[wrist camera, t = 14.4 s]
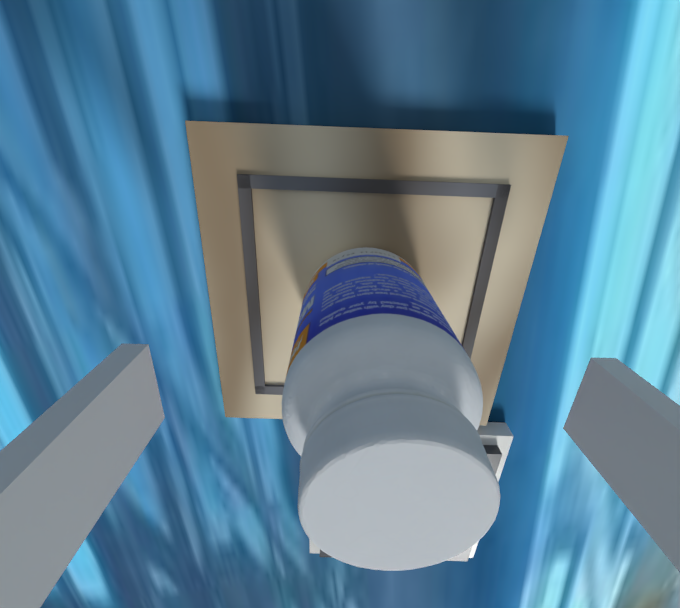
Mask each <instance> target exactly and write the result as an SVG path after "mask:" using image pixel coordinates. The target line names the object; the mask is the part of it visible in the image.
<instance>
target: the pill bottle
mask: <svg viewBox="0 0 680 608" xmlns="http://www.w3.org/2000/svg"><path fill="white" fill-rule="evenodd" d="M482 411H483V394H482V388H481V383H480V380H479V377H478V374H477V372H476V370H475V367H474V366H473V364H472V362H471V360H470V358H469V357H468V355H467V353H466V351H465V350H464V348H463V346H462V345H461V343H460V341H459V340H458V338H457V337H456V335H455V333H454V332H453V330H452V328H451V327H450V325H449V323H448V322H447V320H446V319H445V317H444V315H443V314H442V312H441V310H440V309H439V307H438V306H437V304H436V302H435V301H434V299H433V297H432V296H431V294H430V292H429V290H428V289H427V287H426V285H425V284H424V282H423V280H422V279H421V277H420V276H419V274H418V273H417V272H416V270H415V269H414V268H413V267H412V266H411V265H410V264H409V263H408V262H406V261H405V260H404V259H402V258H401V257H399V256H398V255H396V254H394V253H391V252H389V251H386V250H382V249H377V248H369V247H363V248H354V249H350V250H346V251H343V252H341V253H338V254H336V255H334V256H333V257H331V258H330V259H328V260H327V261H325V262H324V263H323V264H322V265H321V266H320V267H319V268H318V269H317V271H316V272H315V273H314V275H313V276H312V278H311V280H310V282H309V284H308V286H307V289H306V292H305V295H304V298H303V303H302V307H301V312H300V316H299V321H298V325H297V330H296V334H295V339H294V343H293V347H292V352H291V357H290V361H289V366H288V370H287V374H286V378H285V384H284V390H283V395H282V418H283V423H284V427H285V430H286V433H287V435H288V438H289V440H290V442H291V444H292V445H293V447H294V448H295V450H296V451H297V452H298V454H299V455H300V456H301V460H300V480H299V493H298V512H299V518H300V522H301V525H302V527H303V529H304V531H305V533H306V534H307V536H308V537H309V538H310V540H311V541H312V542H313V543H314V544H315V545H316V546H317V547H318V548H319V549H321V550H322V551H323V552H325V553H326V554H328V555H330V556H331V557H333V558H335V559H337V560H340V561H342V562H345V563H347V564H350V565H354V566H357V567H362V568H368V569H375V570H386V571H397V570H409V569H416V568H422V567H426V566H430V565H434V564H438V563H440V562H443V561H446V560H448V559H450V558H453V557H455V556H457V555H459V554H460V553H462V552H464V551H465V550H467V549H469V548H470V547H472V546H473V545H474V544H475V543H477V542H478V541H479V540H480V539H481V538H482V537H483V536H484V535H485V534H486V532H487V531H488V530H489V528H490V527H491V525H492V524H493V522H494V521H495V518H496V516H497V513H498V509H499V504H500V490H499V484H498V481H497V478H496V475H495V473H494V470H493V468H492V466H491V463H490V461H489V458H488V456H487V454H486V451H485V449H484V446H483V444H482V441H481V438H480V435H479V433H478V432H477V430H478V427H479V424H480V421H481V417H482Z"/></svg>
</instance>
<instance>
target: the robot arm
mask: <svg viewBox="0 0 680 608" xmlns="http://www.w3.org/2000/svg"><path fill="white" fill-rule="evenodd" d="M164 418H165V417H164V412H163V408H162V403H161V399H160V394H159V390H158V385H157V381H156V376H155V372H154V367H153V363H152V358H151V354H150V349H149V345H148V344H121V345H120V346H119V347H118V348H117V349H115V350H114V351H113V352H112V353H111V354H110V355H109V356H108V357H106V358H105V359H104V360H103V361H102V362H101V363H100V364H99V365H97V366H96V367H95V368H94V369H93V370H92V371H91V372H89V373H88V374H87V375H86V376H85V377H84V378H83V379H82V380H80V381H79V382H78V383H77V384H76V385H75V386H74V387H73V388H71V389H70V390H69V391H68V392H67V393H66V394H65V395H63V396H62V397H61V398H60V399H59V400H58V401H57V402H56V403H54V404H53V405H52V406H51V407H50V408H49V409H48V410H47V411H45V412H44V413H43V414H42V415H41V416H40V417H39V418H37V419H36V420H35V421H34V422H33V423H32V424H31V425H30V426H28V427H27V428H26V429H25V430H24V431H23V432H22V433H21V434H19V435H18V436H17V437H16V438H15V439H14V440H13V441H11V442H10V443H9V444H8V445H7V446H6V447H5V448H4V449H2V450H1V451H0V608H40V607H41V605H42V604H43V602H44V601H45V599H46V598H47V596H48V595H49V593H50V592H51V590H52V589H53V587H54V586H55V584H56V583H57V581H58V580H59V578H60V576H61V575H62V573H63V572H64V570H65V569H66V567H67V566H68V564H69V563H70V561H71V560H72V558H73V557H74V555H75V554H76V552H77V551H78V549H79V548H80V546H81V544H82V543H83V541H84V540H85V538H86V537H87V535H88V534H89V532H90V531H91V529H92V528H93V526H94V525H95V523H96V522H97V520H98V519H99V517H100V516H101V514H102V512H103V511H104V509H105V508H106V506H107V505H108V503H109V502H110V500H111V499H112V497H113V496H114V494H115V493H116V491H117V490H118V488H119V487H120V485H121V484H122V482H123V480H124V479H125V477H126V476H127V474H128V473H129V471H130V470H131V468H132V467H133V465H134V464H135V462H136V461H137V459H138V458H139V456H140V455H141V453H142V452H143V450H144V448H145V447H146V445H147V444H148V442H149V441H150V439H151V438H152V436H153V435H154V433H155V432H156V430H157V429H158V427H159V426H160V424H161V423H162V421H163V420H164ZM563 429H564V430H565V431H566V432H567V433H568V435H569V436H570V437H571V438H572V440H573V441H574V442H575V443H576V445H577V446H578V447H579V448H580V450H581V451H582V452H583V453H584V455H585V456H586V457H587V458H588V459H589V461H590V462H591V463H592V464H593V466H594V467H595V468H596V469H597V471H598V472H599V473H600V474H601V476H602V477H603V478H604V479H605V480H606V482H607V483H608V484H609V485H610V487H611V488H612V489H613V490H614V492H615V493H616V494H617V495H618V497H619V498H620V499H621V500H622V501H623V503H624V504H625V505H626V506H627V508H628V509H629V510H630V511H631V513H632V514H633V515H634V516H635V518H636V519H637V520H638V521H639V522H640V524H641V525H642V526H643V527H644V529H645V530H646V531H647V532H648V534H649V535H650V536H651V537H652V539H653V540H654V541H655V542H656V544H657V545H658V546H659V547H660V548H661V550H662V551H663V552H664V553H665V555H666V556H667V557H668V558H669V560H670V561H671V562H672V563H673V565H674V566H675V567H676V568H677V569H678V571H679V572H680V406H679V405H678V404H677V403H675V402H674V401H673V400H671V399H670V398H669V397H667V396H666V395H665V394H663V393H662V392H660V391H659V390H658V389H656V388H655V387H654V386H652V385H651V384H650V383H648V382H647V381H646V380H644V379H643V378H642V377H640V376H639V375H638V374H636V373H635V372H634V371H632V370H631V369H630V368H628V367H627V366H626V365H624V364H623V363H622V362H620V361H619V360H618V359H616V358H591V359H590V361H589V364H588V367H587V369H586V372H585V374H584V377H583V379H582V382H581V384H580V387H579V389H578V392H577V395H576V397H575V400H574V402H573V405H572V407H571V410H570V412H569V415H568V418H567V420H566V423H565V425H564V428H563Z"/></svg>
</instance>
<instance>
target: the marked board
mask: <svg viewBox="0 0 680 608" xmlns="http://www.w3.org/2000/svg"><path fill="white" fill-rule="evenodd" d="M185 123H186V130H187V138H188V145H189V152H190V160H191V167H192V174H193V182H194V189H195V196H196V204H197V211H198V218H199V226H200V233H201V240H202V248H203V255H204V262H205V270H206V277H207V285H208V292H209V299H210V307H211V314H212V321H213V329H214V336H215V343H216V351H217V358H218V365H219V373H220V380H221V387H222V395H223V402H224V409H225V417H239V418H270V419H283V418H282V395H283V390H284V384H285V378H286V374H287V370H288V366H289V361H290V357H291V352H292V347H293V343H294V339H295V334H296V330H297V325H298V321H299V316H300V312H301V307H302V303H303V298H304V295H305V292H306V289H307V286H308V284H309V282H310V280H311V278H312V276H313V275H314V273H315V272H316V271H317V269H318V268H319V267H320V266H321V265H322V264H323V263H324V262H325V261H327V260H328V259H330V258H331V257H333V256H334V255H336V254H338V253H341V252H343V251H346V250H350V249H354V248H363V247H369V248H377V249H382V250H386V251H389V252H391V253H394V254H396V255H398V256H399V257H401V258H402V259H404V260H405V261H406V262H408V263H409V264H410V265H411V266H412V267H413V268H414V269H415V270H416V272H417V273H418V274H419V276H420V277H421V279H422V280H423V282H424V284H425V285H426V287H427V289H428V290H429V292H430V294H431V296H432V297H433V299H434V301H435V302H436V304H437V306H438V307H439V309H440V310H441V312H442V314H443V315H444V317H445V319H446V320H447V322H448V323H449V325H450V327H451V328H452V330H453V332H454V333H455V335H456V337H457V338H458V340H459V341H460V343H461V345H462V346H463V348H464V350H465V351H466V353H467V355H468V357H469V358H470V360H471V362H472V364H473V366H474V367H475V370H476V372H477V374H478V377H479V380H480V383H481V388H482V394H483V411H482V417H481V421H480V424H479V425H484V426H486V425H487V422H488V418H489V415H490V411H491V408H492V404H493V401H494V397H495V393H496V390H497V386H498V383H499V379H500V376H501V372H502V369H503V365H504V362H505V358H506V355H507V351H508V348H509V344H510V341H511V337H512V334H513V330H514V327H515V323H516V319H517V316H518V312H519V309H520V305H521V302H522V298H523V295H524V291H525V288H526V284H527V281H528V277H529V274H530V270H531V267H532V263H533V260H534V256H535V252H536V249H537V245H538V242H539V238H540V235H541V231H542V228H543V224H544V221H545V217H546V214H547V210H548V207H549V203H550V200H551V196H552V193H553V189H554V185H555V182H556V178H557V175H558V171H559V168H560V164H561V161H562V157H563V154H564V150H565V147H566V143H567V140H568V136H558V135H533V134H508V133H483V132H458V131H432V130H407V129H382V128H357V127H332V126H307V125H281V124H256V123H231V122H206V121H185Z"/></svg>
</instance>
